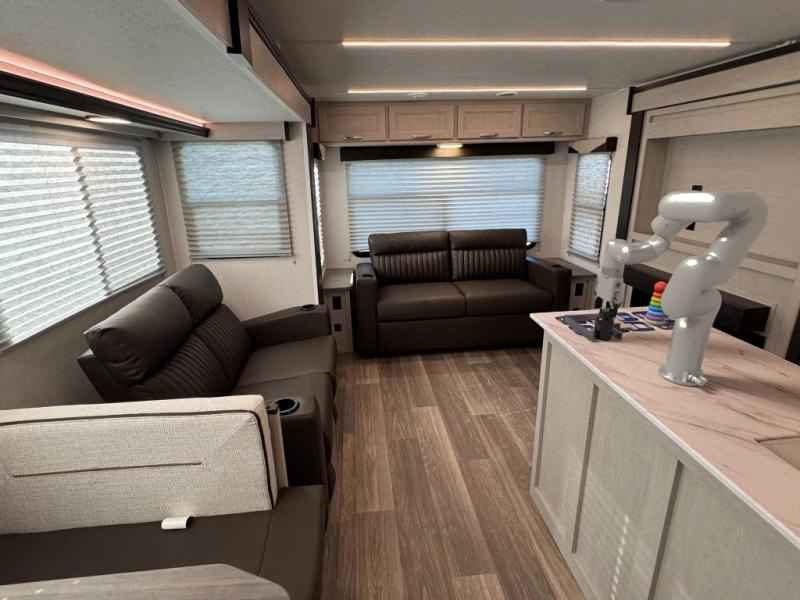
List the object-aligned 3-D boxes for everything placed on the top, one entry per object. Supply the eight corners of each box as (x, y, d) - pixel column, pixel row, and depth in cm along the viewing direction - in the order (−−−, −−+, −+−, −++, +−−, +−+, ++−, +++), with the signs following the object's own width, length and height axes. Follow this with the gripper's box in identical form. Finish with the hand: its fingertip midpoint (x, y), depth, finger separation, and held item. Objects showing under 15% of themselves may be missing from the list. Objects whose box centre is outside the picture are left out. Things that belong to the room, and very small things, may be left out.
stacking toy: (668, 326, 175) (677, 284, 169) (650, 326, 175) (658, 284, 169) (658, 319, 182) (666, 279, 176) (640, 319, 182) (647, 279, 177)
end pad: (630, 328, 173) (630, 327, 173) (604, 329, 172) (604, 328, 172) (616, 319, 183) (616, 318, 183) (591, 321, 182) (591, 320, 181)
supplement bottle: (606, 334, 167) (610, 307, 164) (614, 341, 161) (619, 313, 157) (589, 334, 167) (593, 307, 163) (597, 341, 161) (602, 313, 157)
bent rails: (634, 339, 162) (635, 332, 161) (591, 341, 160) (592, 335, 160) (601, 319, 184) (602, 313, 183) (563, 321, 182) (563, 315, 181)
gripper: (636, 277, 148) (627, 320, 154) (607, 265, 164) (600, 304, 170) (616, 278, 147) (608, 321, 153) (590, 266, 163) (584, 305, 169)
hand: (604, 312), depth 161 cm, fingers open, 9 cm apart
